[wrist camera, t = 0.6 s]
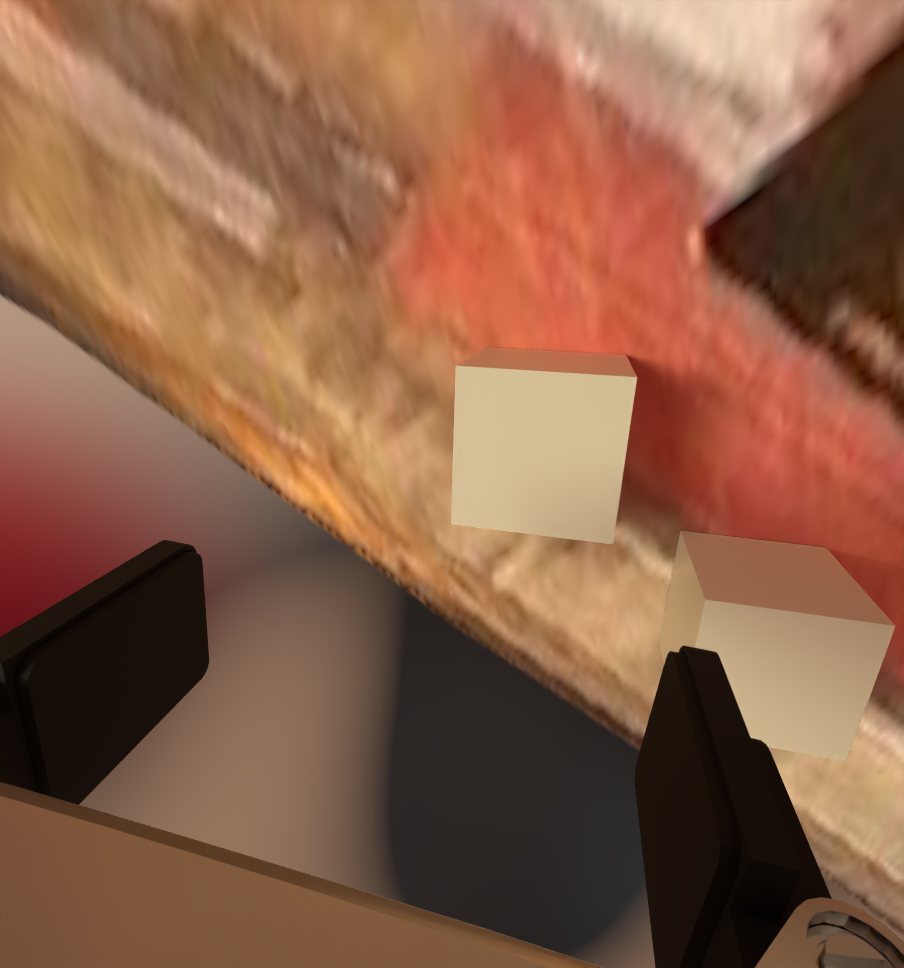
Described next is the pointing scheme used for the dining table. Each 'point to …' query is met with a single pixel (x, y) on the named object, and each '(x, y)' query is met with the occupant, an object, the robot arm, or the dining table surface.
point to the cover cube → (541, 441)
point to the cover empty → (780, 636)
